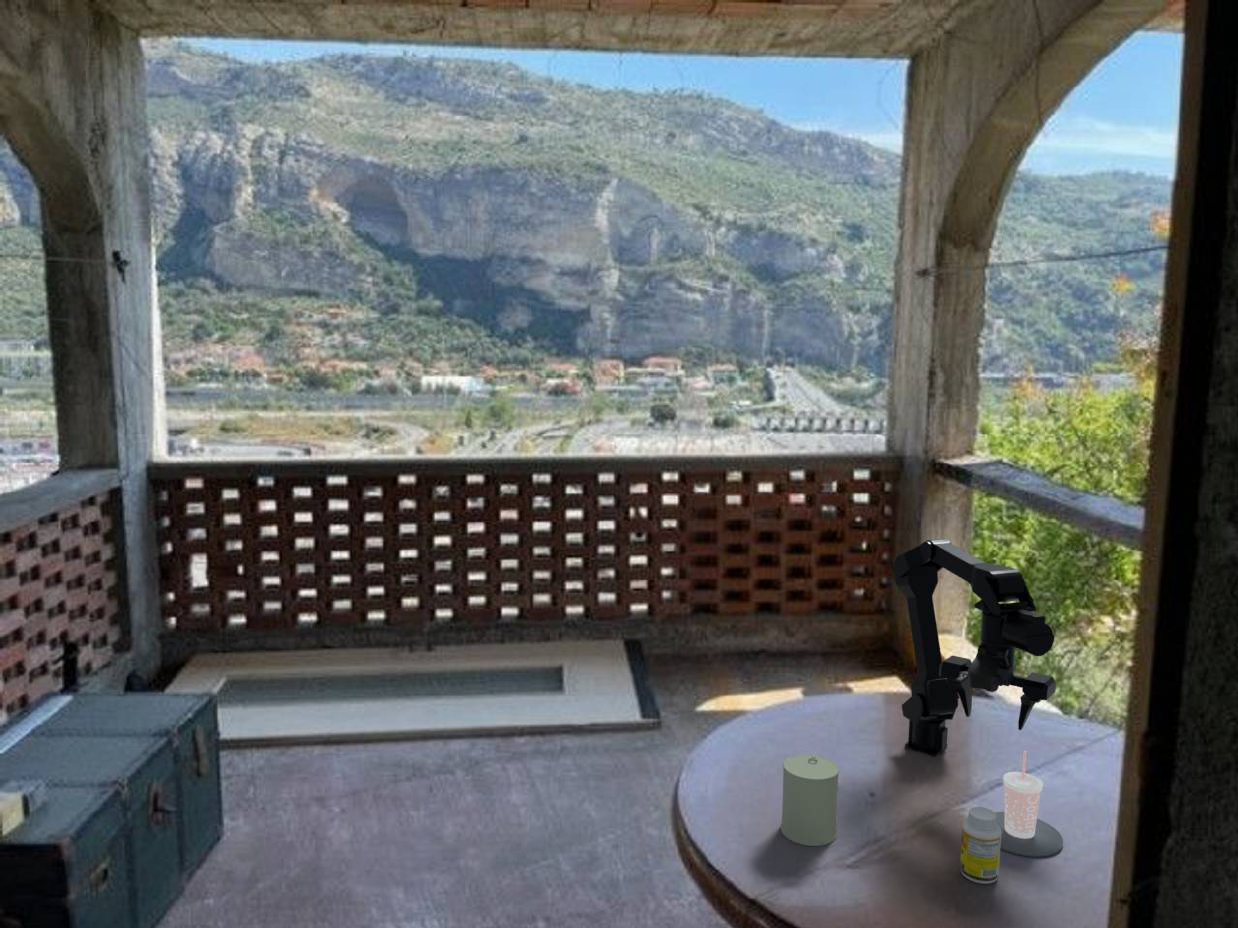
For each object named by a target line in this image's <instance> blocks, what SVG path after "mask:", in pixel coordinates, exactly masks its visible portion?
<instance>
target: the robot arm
mask: <svg viewBox="0 0 1238 928" xmlns="http://www.w3.org/2000/svg"><path fill="white" fill-rule="evenodd" d="M891 568H892V574H893V576H894V580H895V583H896V587H897V588H898V590H899V591H900V592H901V594H902V595H903V596H904V597H905V599H906V602H907V603H906V604H907V610H908V617H909V623H910V631H911V637H912V643H913V650H914V658H915V663H916V672H915V675H914V677H913V681H912V683H911V685H910V686H911V687H910V689H911V696H910V697H909V698H908V699H906V701H905V702H903V703H902V704H901V711H902V716H903V717H905V718H906V720H907V719H908V720H909V721H908V736H907V737H908V739H907V742H906V743H904V747H905V748H906V749H910V750H912V751H913V750H914V751H917V752H919V753H922V754H926V755H929V756H933V757H936V756H938V755H939V754H940V753H941V752H942V751H943V750H945V749H946V748H947V747H948V727H947V726H946V724H947V723H946V722H947V721H948V720H953V719H954V716H955V713H956V711H957V709H958V708H959V707H958V706H959V699H960V702H961V705H962V708H963V711H964V713H965V716H966V717H967V718H969V717H971V712H972V708H973V706H972V705H973V689H980V690H984V691H986V692H988V693H995V692H997V691H998V690H999V686H1000V687H1002V686H1004V687H1009V686H1013V687H1018V688H1021V689H1022V695H1021V696H1020V697H1019V698H1020V710H1019V715H1018V725H1017V727H1018V730H1019V731H1022V730H1023V728H1024V726H1025V724H1026V723H1027V720H1028V718H1029V716H1030V714H1031V711H1032V710H1033V707H1034V706H1035V704H1036V703H1037V704H1038V703H1040V702H1042V701H1047V700H1049V698H1050V697H1052V696H1053V695H1054V694H1055V693H1056V686H1057V682H1056V680H1055V678H1054V677H1053V675H1048V674H1042V673H1037V672H1033V671H1032V672H1031V673H1029V674H1028V675H1027V676H1022V675H1017V674H1014V673H1015V671H1016V669H1017V667H1016V665H1015V654H1016V650H1017V649H1018V650H1020V651H1023V652H1025V653H1027V654H1029V655H1032V656H1035V657H1042V656H1044V655H1047V653H1049V651H1050V650H1051V649H1052V647H1053V645H1054V642H1055V634H1054V632H1053V629H1052V627H1051V626H1050V625H1049V624H1048V623H1046V617H1045V615H1043V614H1039V613H1038V614H1037V613H1034V612H1036V611H1037V608H1036V605H1035V603H1034V601H1035V600H1034V598H1033V597H1032V595H1031V593H1030V591H1029V588H1028V586H1027V584H1026V581H1025V579H1024V578H1023V574H1022V573H1021V572H1020V571H1019V570H1018V569H1016V568H1015V567H1014V568H1013V567H1010V566H1007V565H1001V564H994V563H988V562H986V561H983V560H982V559H980V558H978V557H976V556H974V555H973V554H970V553H968V552H967V551H965V550H964V549H961V548H960V547H958V546H956V545H955V544H953V543H952V542H951V541H950V540H948V539H944V538H943V539H942V538H941V539H928V540H926V541H924V542H922V543H921V544H919V545H917V547H914V548H912V549H910V550H908V551H905V552H904V553H902V554H899V555H897V556H896V558H895V560H894V561H893V562H892V566H891ZM943 569H945V570H946V571H948V572H950V573H952V574H953V575H955V576H957V577H959V578H960V579H961V580H964V581H965V582H967V583H968V584H969V585H970V587H971V591H972V593H973V594H974V595H976V596H977V597H978V598H979V599H980V600H979V601H977V602H976V603H974V605H973V607H974V608H975V609H977V610H980V611H981V625H980V626H981V627H980V628H981V629H980V631H981V632H980V644H978V648H977V653H976V656H975V658H974V659H973V660H971V658H967V657H962V656H957V655H951V656H949V657H948V658H946V659H944V660H943V659H942V651H941V647H940V646H941V645H940V639H939V632H938V626H937V619H936V612H935V606H934V600H933V599H934V598H933V596H934V593H935V591H936V587H937V586H938V583H939V572H940V571H941V570H943ZM1006 602H1007V603H1006Z"/></svg>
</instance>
